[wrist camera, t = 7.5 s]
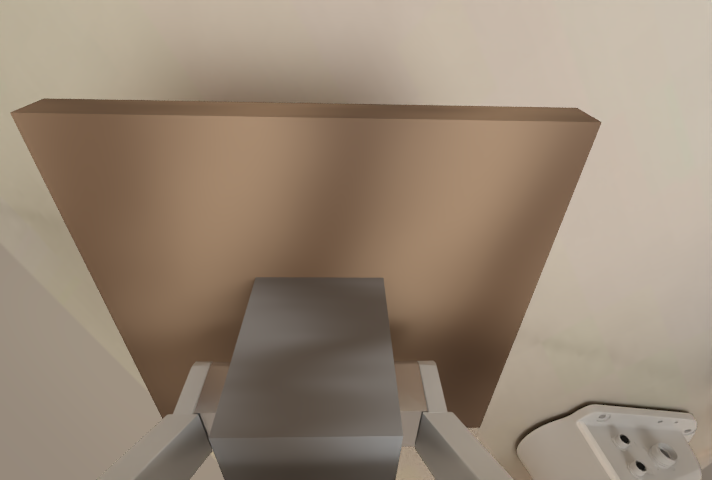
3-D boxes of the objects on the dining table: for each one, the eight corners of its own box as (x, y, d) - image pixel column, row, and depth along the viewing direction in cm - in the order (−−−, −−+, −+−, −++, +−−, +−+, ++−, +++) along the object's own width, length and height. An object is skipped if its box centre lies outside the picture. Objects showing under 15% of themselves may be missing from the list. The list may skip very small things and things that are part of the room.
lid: (576, 107, 10) (805, 241, 5) (472, 403, 18) (521, 567, 13) (43, 98, 10) (-282, 234, 5) (178, 405, 18) (112, 577, 13)
